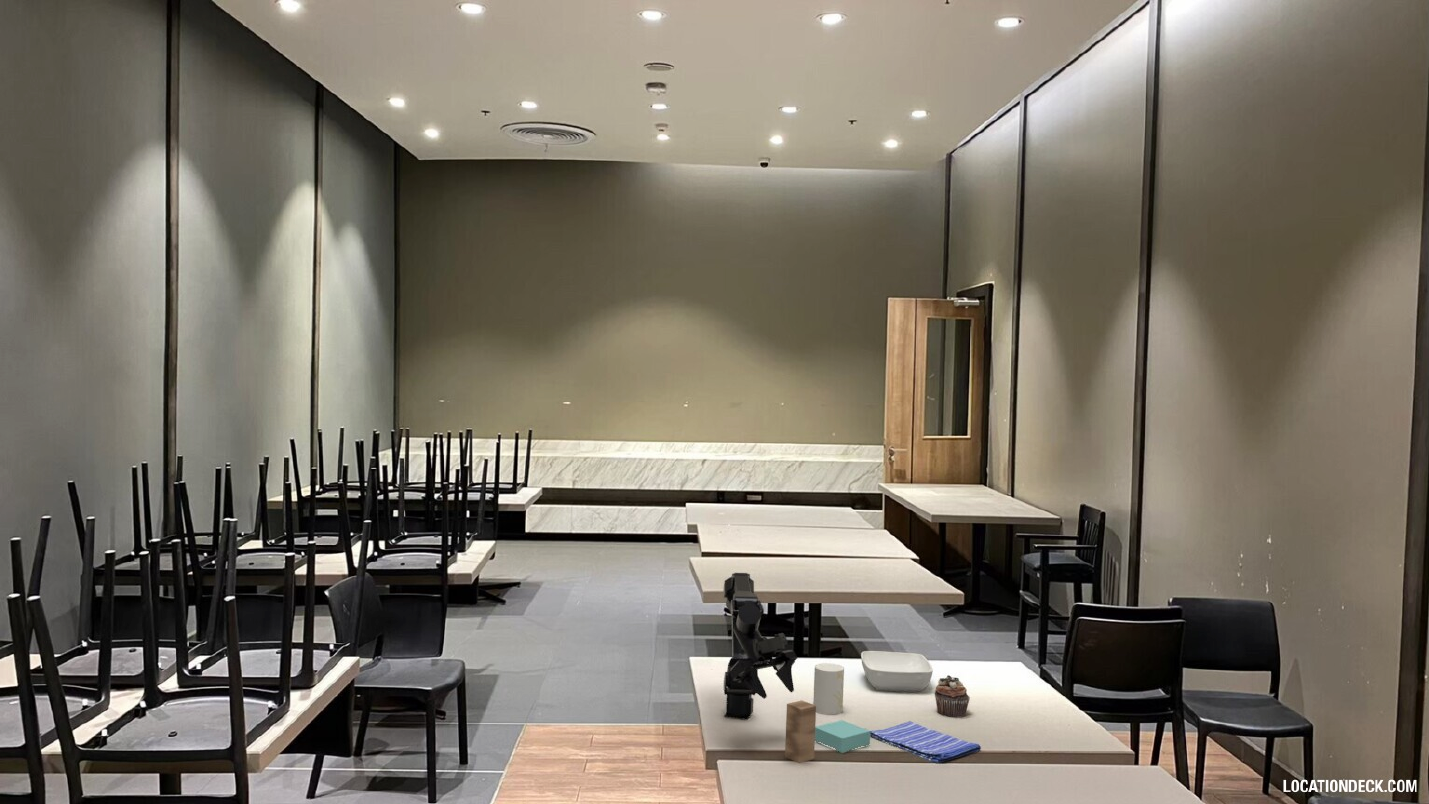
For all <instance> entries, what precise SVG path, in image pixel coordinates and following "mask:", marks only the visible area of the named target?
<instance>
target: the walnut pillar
mask: <svg viewBox="0 0 1429 804" xmlns="http://www.w3.org/2000/svg"><path fill="white" fill-rule="evenodd" d="M816 717H817V712H816V705H813V704H812V703H810V702H808V701H804V700H802V699H801V700H798V701H793V702H789V703H786V720H785V721H786V722H785V744H784V745H785V746H784V748H785V749H784V757H785V758H787V759H788V760H790V761H791V760H792V761H794V762H795V763H798V764H800V763H804V762H808V761H811V760H814V759H815V744H816V742H815V727H816V723H817V722H816V719H817V718H816Z"/></svg>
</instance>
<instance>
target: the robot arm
mask: <svg viewBox="0 0 1429 804" xmlns="http://www.w3.org/2000/svg"><path fill="white" fill-rule="evenodd" d="M722 591H723V593H722V594H723V598H724V599H725V606H726V608H727V609H728V611H729V612H730V614H731V646H732V647H731V649H732V651H731V653H732V657H731V658H730V659H729V662H728V664H727V669H726V671H725V672H724V677H723V693H724V695H725V696H726V702H725V703H726V706H725V707H726V708H725V709H726V710H725V713H724V714H723V717H725V718H731V719H740V720H746V721H747V720H749V718H750V717H751V716H752V715H753V713H754V697H753V696H756V694H757V695H758V696H759V697H761V698H762V699H764V700H765V699H766V698H768V695H767V692H766V690H765V688H764V686H763V684H762V681H761V679H760V678H759V674H758V673H759V671H758V670H762V669H767V668H771V667H772V669H773V670H774V671H776V672H775V675H776V677H777V678H778V679H779V680H780V681H781V683H782V684H783V685H784V686H785V688H786V689H787V690H788V691H789V692H790V693H793V692H794V691H795V689H794V687H795V686H794V682H793V674H792V667H793V665H794V664H795V663H796V660H798V656H797V655H796V653H795V651H794V650H792V649H788V650H785V647H786V646H787V645H788V639H787V637H786V635H785V633H783V632H781V633H778V634H774V637H770V638H768V637H766V636H762V635H761V633H760V630H759V626H760V621H761V617H762V616H763V615H764V614H765V612H764V611H765V610H764V607H763V604H762V602H761V600H759V598H758V597H759V596H758V595H757V594H756V593H755V581H754V580H753V579H752V578H751V574H750V573H748V572H734V573H732V574H731V577H728V578H726V579H724V583H723V590H722ZM779 650H783V651H780V652H779V653H778V654H777V651H779ZM776 654H777V655H776ZM775 655H776V656H775ZM773 656H775V657H773Z"/></svg>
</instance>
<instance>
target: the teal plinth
mask: <svg viewBox="0 0 1429 804" xmlns="http://www.w3.org/2000/svg"><path fill="white" fill-rule="evenodd" d="M870 731H871V730H868V729H866V728H864V727H861V726H858V725H856V724H853V723H851V722H848V721H846V720H844V719H843V720H842V719H841V720H837V721H833V722H830V723H826V724H821V725H820V724H819V725H815V741H816V742H815V743H817V742H821V743H823V744H825V745H828V746H830V747H833V748H835V749H836V750H838V751H839V752H838V751H837V752H838V753H841V754H844V753H847V751H848V752H850V751H849V750H852V749H855V748H858V747H861V746H866V745H869V744H870V745H871V737H870ZM870 745H869V746H870ZM866 747H867V746H866ZM855 750H856V749H855ZM852 751H853V750H852Z"/></svg>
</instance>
